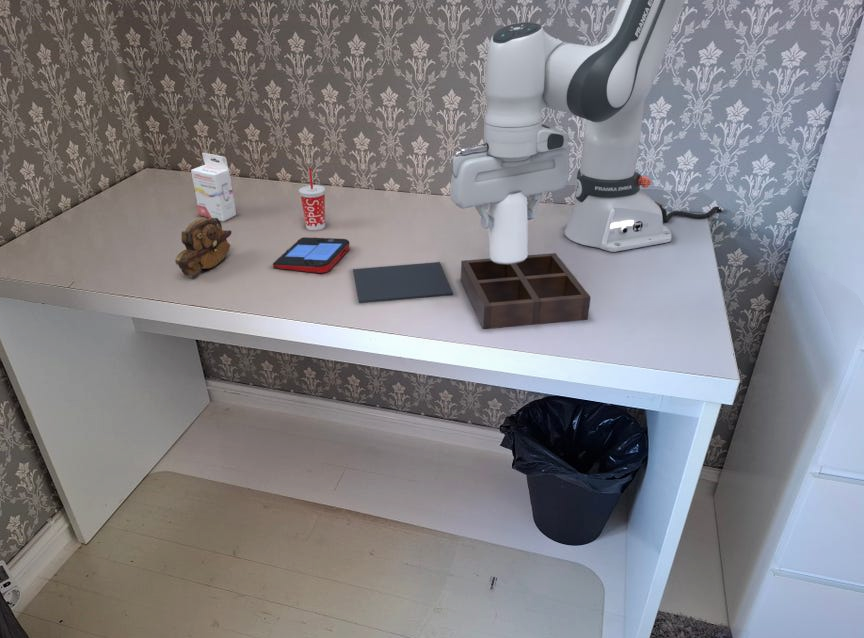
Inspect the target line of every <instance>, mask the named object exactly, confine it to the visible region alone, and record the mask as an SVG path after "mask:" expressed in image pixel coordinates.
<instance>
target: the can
mask: <svg viewBox="0 0 864 638" xmlns="http://www.w3.org/2000/svg"><path fill="white" fill-rule="evenodd" d="M521 192H522V191H519V192H515V193H508V194H507V195H508V197H507V198H505V199H504V200H503V201H499V202H494V203H489V205H488V210H487V215H490V216H491V217H493V218H494V222H493V224H494V226H493V227H492V228H487V229H488V250H489V252H488V253H489V258H490V259H491V260H492V261H493V262H494V263H497V264H503V265H509V264H517V263H520V262H522V261H524V260H525V259H526V258H527V256H528V255H529V254H528V253H529V250H528V249H529V247H528V245H529V243H528V237H529V235H528V220H527V204H528V198H527V197H528V196H524V195H522V194H521Z"/></svg>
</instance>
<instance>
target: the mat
mask: <svg viewBox="0 0 864 638" xmlns="http://www.w3.org/2000/svg"><path fill="white" fill-rule="evenodd" d="M442 266H443V265H442V264H441V262H440V261H436V262H434V261H433V262H424V263H423V262H422V263H413V264H399V265H387V266H374V267H362V268H361V267H360V268H353V270H352V271H353V276H354V282H355V287H356V288H355V289H356V293H357V298H358V303H359V304H362V303H364V304H366V303H375V302H386V301H387V302H388V301H398V300H411V299H422V298H434V297H445V296H453V295H454V292H453V290H452V289H453V288H452V287H451V285H450V282H449V280H448V278H447V276H446V273H445V271H444V269H443V267H442Z"/></svg>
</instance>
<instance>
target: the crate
mask: <svg viewBox="0 0 864 638" xmlns="http://www.w3.org/2000/svg"><path fill="white" fill-rule="evenodd" d="M460 283H461V285H462V287H463V289H464V292H465V294H466V296H467V298H468V300H469V302H470V304H471V307H472V309H473V311H474V313H475V315H476V317H477V318H478V321H479V323H480V325H481V327H482V330H488V329H497V328H508V327H509V328H510V327H519V326H521V327H522V326H532V325H542V324H555V323H565V322H577V321H587V320H588V319H589V312H590V304H591V299H592V297H591V295H590V294H589V293H588V292H587V291H586V289H585V288H584V287H583V285H582V284H581V283H580V282H579V280H578V279H577V277H576V276H575V275H574V274H573V273H572V271H570V268H568V267H567V265H566V264H565V263H564V261H563V260H562V259H561V258H560V256H559V255H558V254H557V253H556V252H550V253H540V254H539V253H538V254H528V256H527V258H526V259H525V260H524V261H522V262H520V263H517V264H509V265H503V264H497V263H494V262H493V261H492V260H491V259H490V257H489V258H488V257H487V258H478V259H477V258H476V259H468V260H467V259H465V260H461V261H460Z"/></svg>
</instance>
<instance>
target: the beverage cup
mask: <svg viewBox="0 0 864 638" xmlns="http://www.w3.org/2000/svg"><path fill="white" fill-rule="evenodd" d="M308 171H309V184H310V185H305V186H302V187H300V188H299V189H298V193H299V194H298V195H299V196H300V201H301V205H302V212H303V217H304V218H303V219H304V224H305V228H306V230H308V231H309V230H310V231H320V230H322V229H325V227H326V199H325V196H326V188H325V186H322V185H320V184H319V185H318V184H314V183H313V175H312V167H308Z"/></svg>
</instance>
